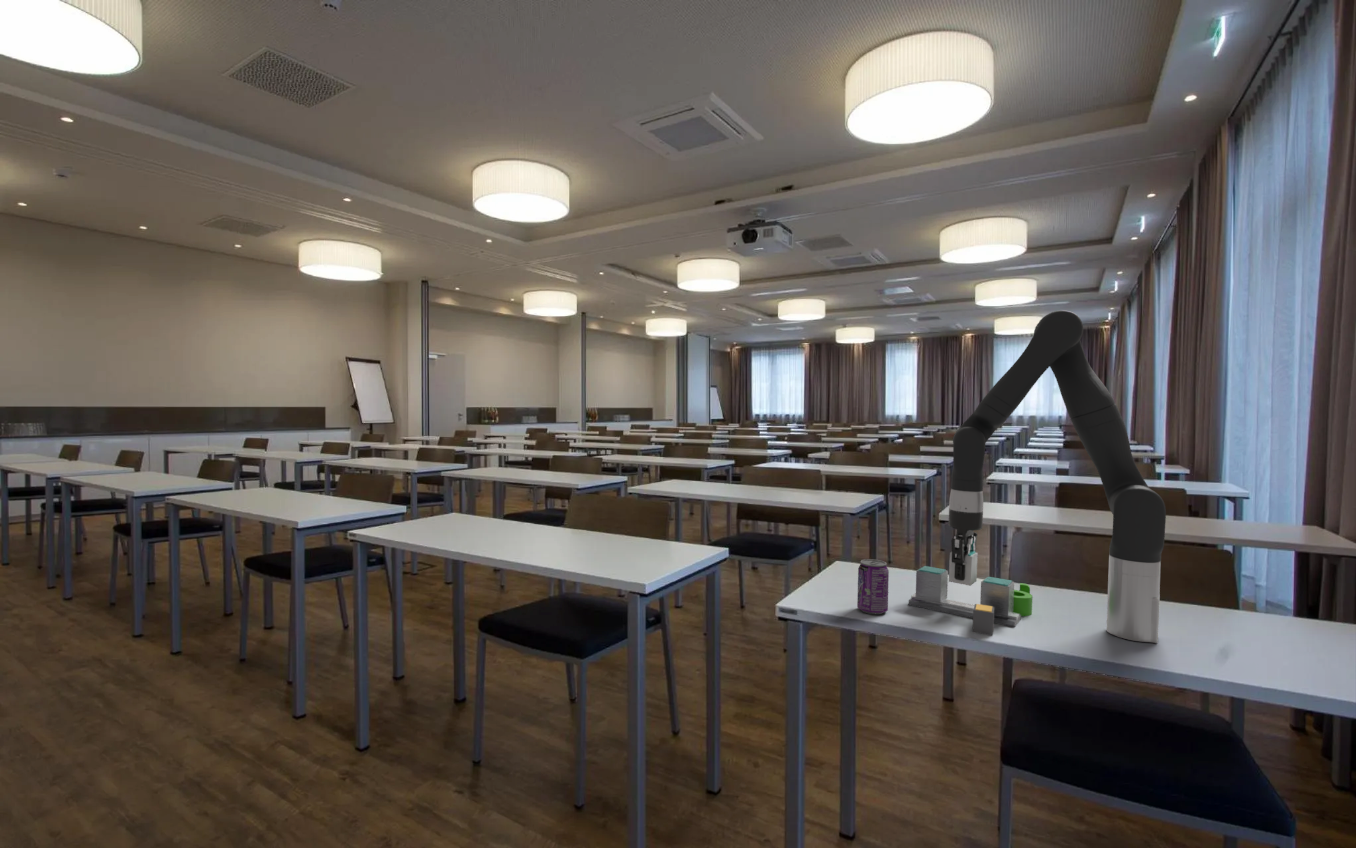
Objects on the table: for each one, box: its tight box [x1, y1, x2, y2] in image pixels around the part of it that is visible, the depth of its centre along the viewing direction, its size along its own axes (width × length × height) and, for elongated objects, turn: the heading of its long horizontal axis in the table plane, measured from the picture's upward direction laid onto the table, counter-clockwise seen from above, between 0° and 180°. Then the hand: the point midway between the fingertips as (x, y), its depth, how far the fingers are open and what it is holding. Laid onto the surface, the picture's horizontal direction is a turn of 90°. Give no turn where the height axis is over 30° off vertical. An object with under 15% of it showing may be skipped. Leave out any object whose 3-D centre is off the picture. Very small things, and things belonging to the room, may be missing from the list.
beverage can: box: [856, 558, 890, 615], centre depth 152 cm, size 7×7×12 cm
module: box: [948, 551, 979, 587], centre depth 152 cm, size 5×6×7 cm
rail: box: [908, 565, 1022, 628], centre depth 152 cm, size 24×7×9 cm, turn 51°
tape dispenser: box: [1013, 582, 1034, 617], centre depth 157 cm, size 15×7×5 cm, turn 152°
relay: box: [972, 603, 995, 636], centre depth 140 cm, size 4×5×5 cm
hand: (963, 577), depth 152 cm, fingers closed on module, 5 cm apart
